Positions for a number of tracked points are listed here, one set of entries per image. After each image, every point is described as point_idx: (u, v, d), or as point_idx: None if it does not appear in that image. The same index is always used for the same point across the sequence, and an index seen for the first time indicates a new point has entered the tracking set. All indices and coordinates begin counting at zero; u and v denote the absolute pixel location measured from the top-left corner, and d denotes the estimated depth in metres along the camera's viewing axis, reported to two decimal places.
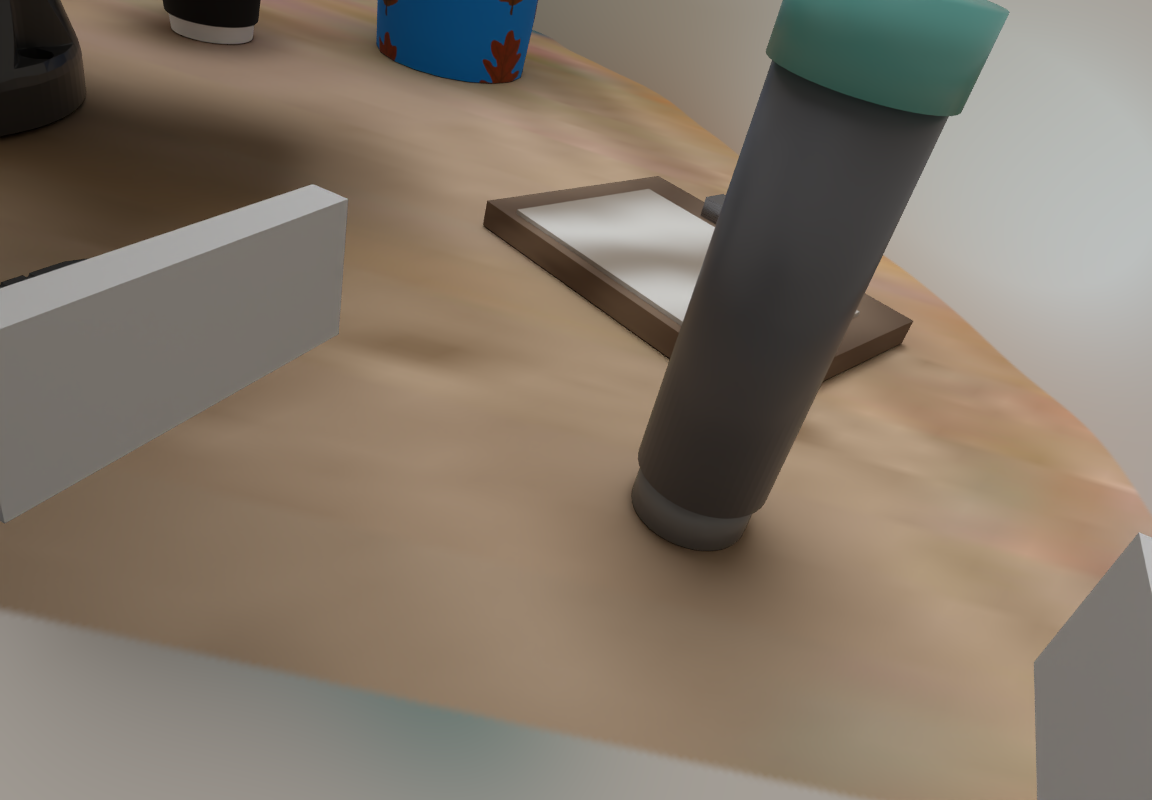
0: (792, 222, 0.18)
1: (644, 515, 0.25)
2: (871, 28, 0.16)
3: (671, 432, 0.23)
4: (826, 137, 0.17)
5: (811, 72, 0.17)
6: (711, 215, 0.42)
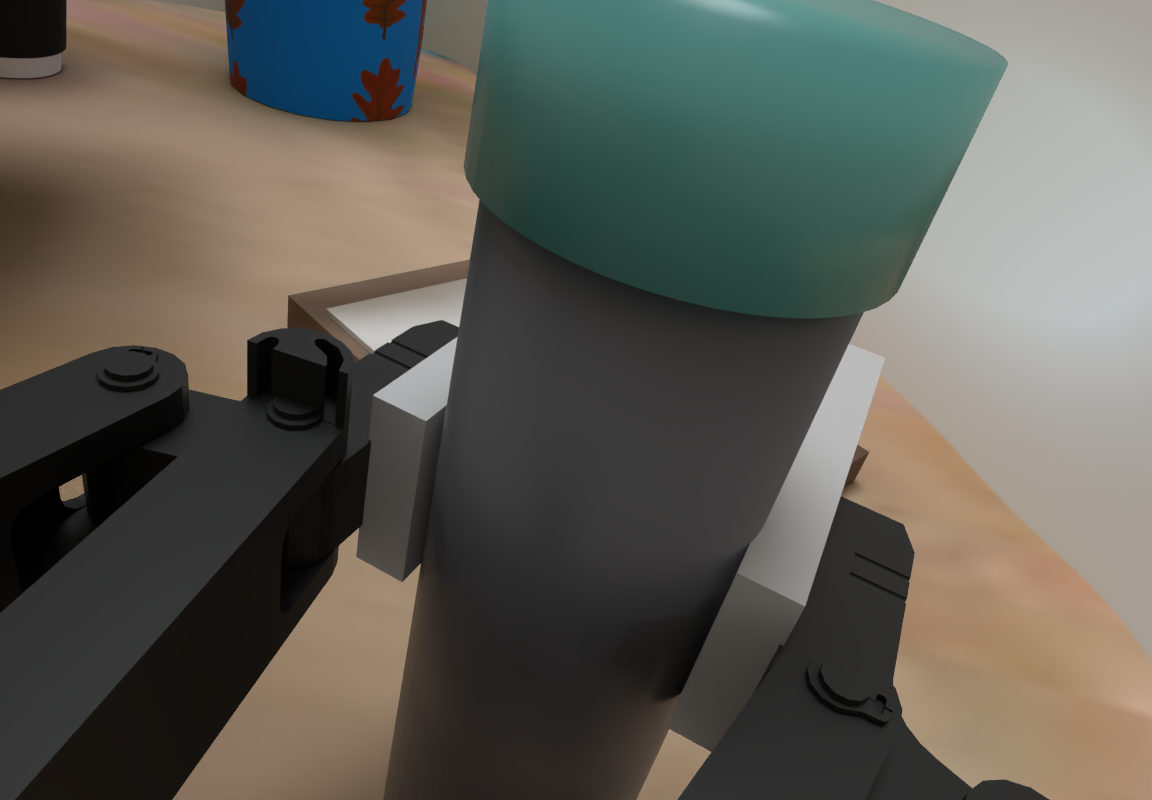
0: (535, 522, 0.08)
1: None
2: (641, 114, 0.06)
3: None
4: (578, 361, 0.07)
5: (522, 215, 0.07)
6: None
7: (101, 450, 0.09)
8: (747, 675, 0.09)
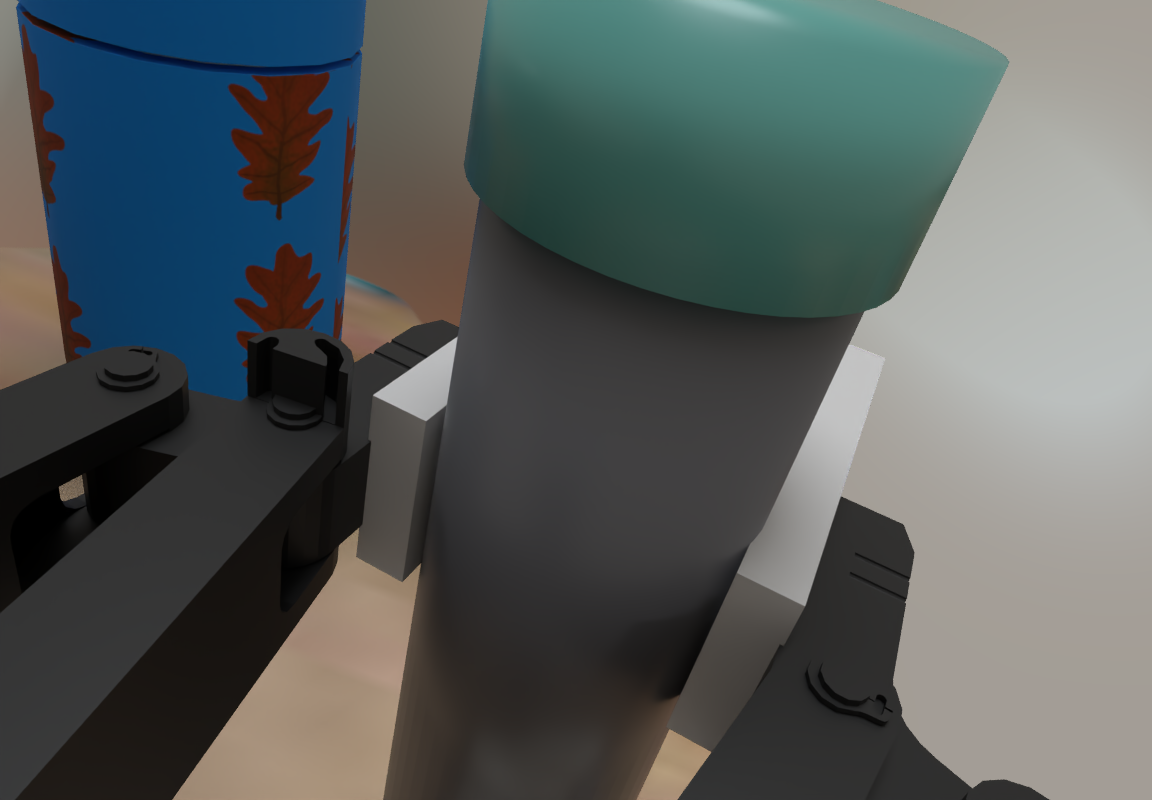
0: (535, 521, 0.08)
1: None
2: (641, 114, 0.06)
3: None
4: (578, 361, 0.07)
5: (523, 214, 0.07)
6: None
7: (101, 450, 0.09)
8: (747, 675, 0.09)
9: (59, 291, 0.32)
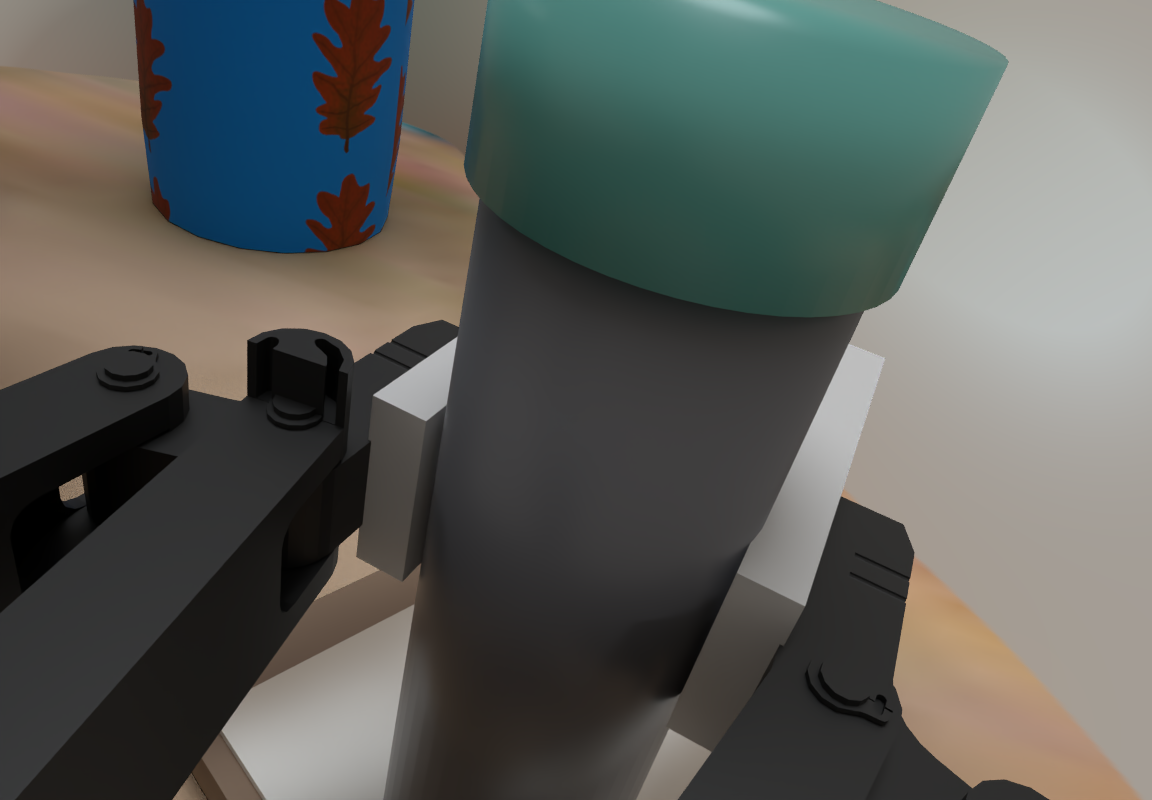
0: (536, 521, 0.08)
1: None
2: (643, 114, 0.06)
3: None
4: (578, 360, 0.07)
5: (523, 214, 0.07)
6: None
7: (101, 450, 0.09)
8: (747, 675, 0.09)
9: (140, 37, 0.33)
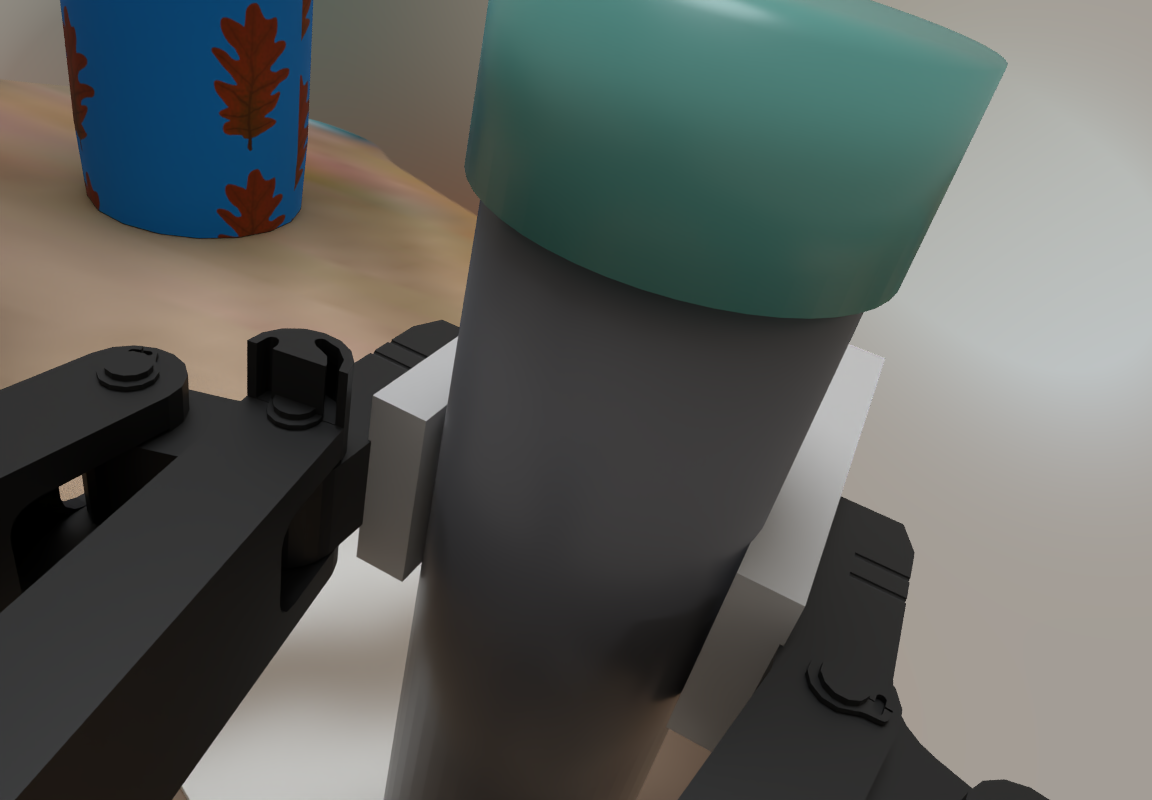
0: (536, 522, 0.08)
1: None
2: (642, 117, 0.06)
3: None
4: (578, 362, 0.07)
5: (523, 215, 0.07)
6: None
7: (101, 450, 0.09)
8: (747, 675, 0.09)
9: (69, 51, 0.38)
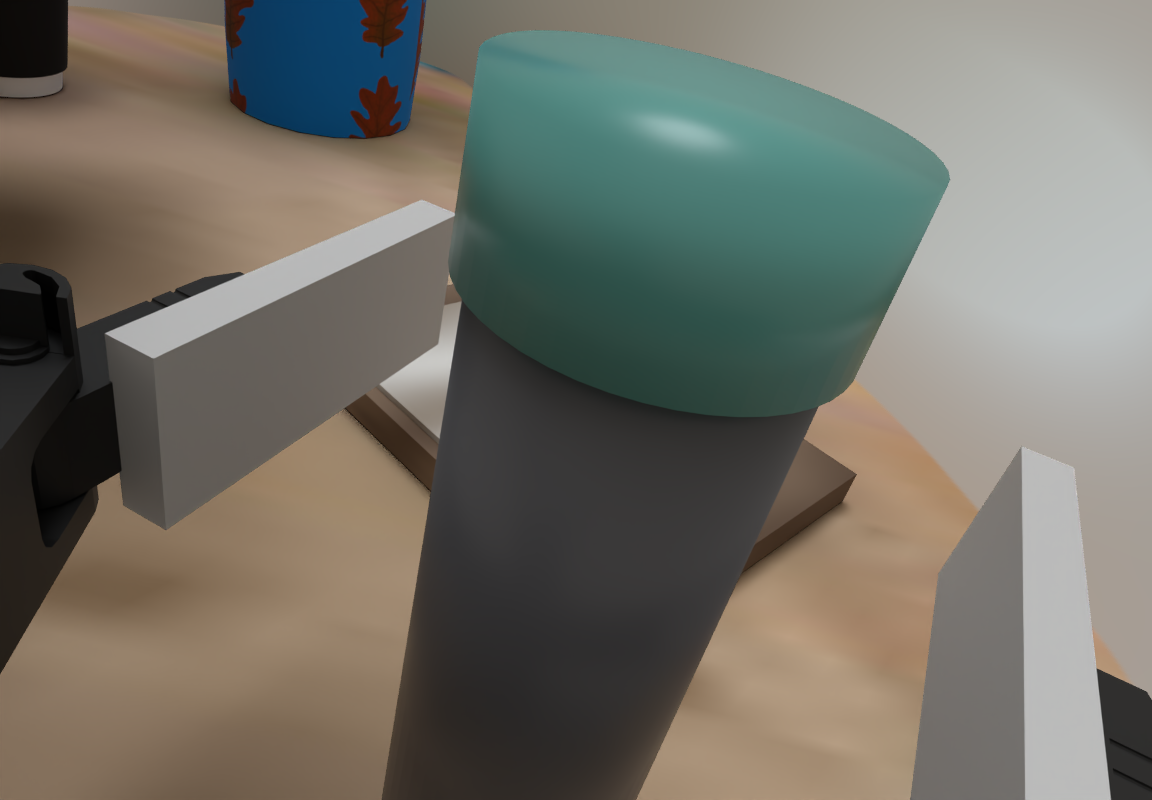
0: (516, 591, 0.09)
1: None
2: (606, 243, 0.06)
3: None
4: (553, 450, 0.08)
5: (500, 320, 0.07)
6: None
7: None
8: None
9: None
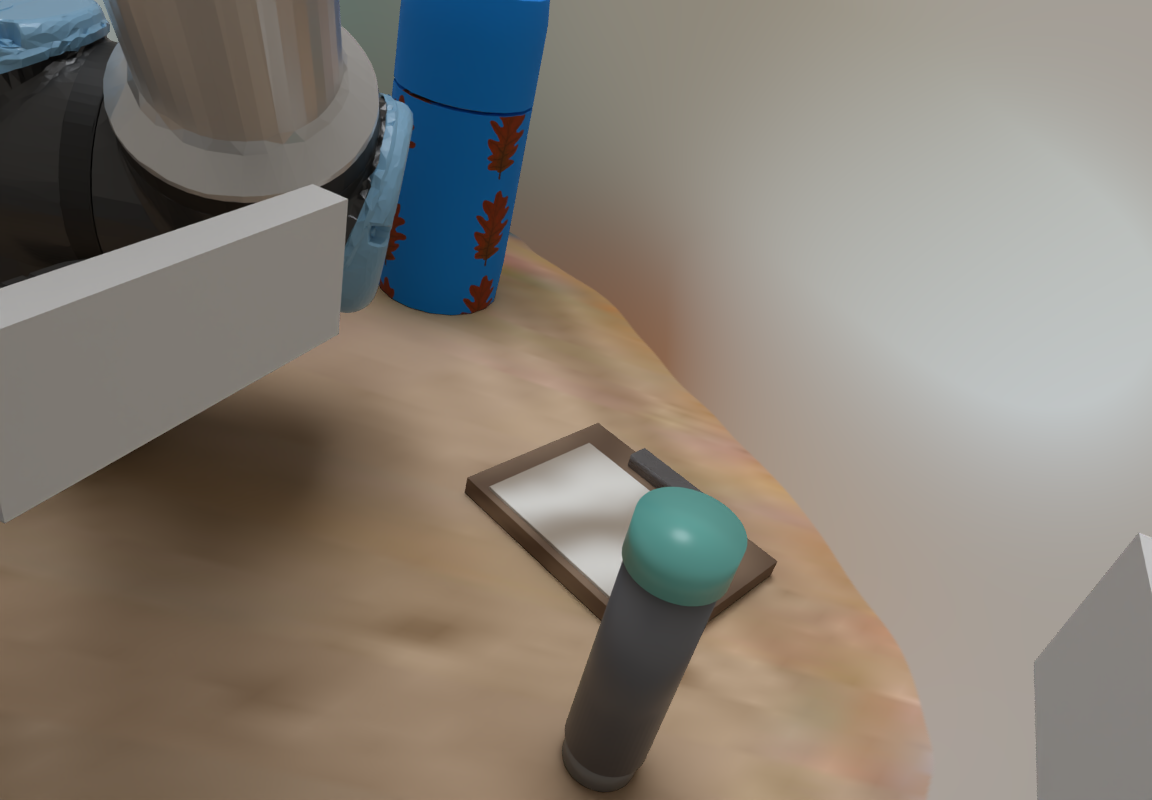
0: (638, 643, 0.33)
1: (569, 768, 0.39)
2: (667, 574, 0.30)
3: (581, 728, 0.37)
4: (651, 610, 0.32)
5: (640, 582, 0.31)
6: (635, 467, 0.56)
7: None
8: None
9: None
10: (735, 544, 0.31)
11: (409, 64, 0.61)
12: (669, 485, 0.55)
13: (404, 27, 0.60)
